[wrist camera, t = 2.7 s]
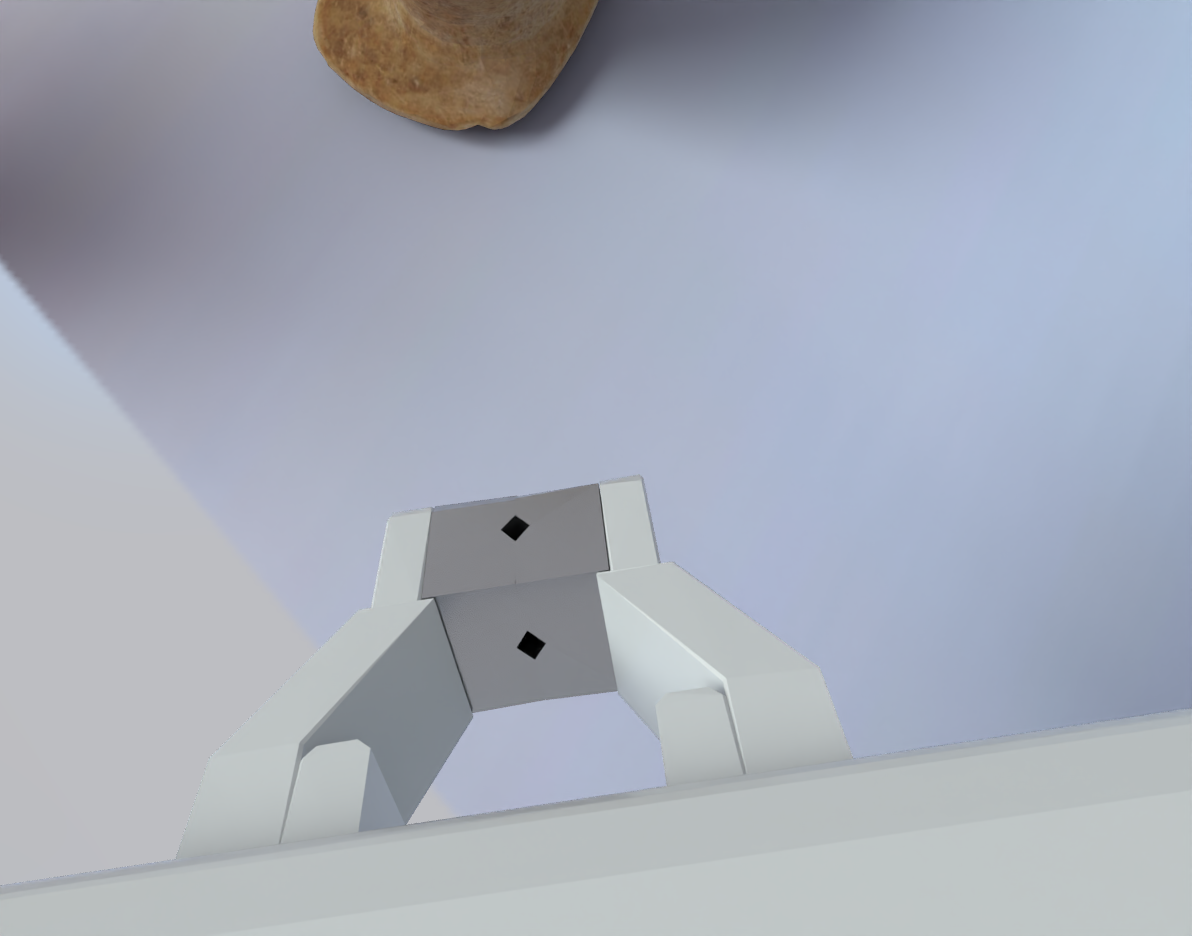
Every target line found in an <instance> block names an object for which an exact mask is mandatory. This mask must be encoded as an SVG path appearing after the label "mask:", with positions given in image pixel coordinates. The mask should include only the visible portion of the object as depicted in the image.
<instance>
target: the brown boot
mask: <svg viewBox="0 0 1192 936" xmlns="http://www.w3.org/2000/svg"><path fill="white" fill-rule="evenodd" d="M598 1H599V0H318V2H317V6H316V10H315V15H314V25H313V36H314V40H315V43H316V46H317V49H318V50H319V51H320V53H321V54H322V56H323V57H324V58H325V60H326V61H327V63H328V66H329V67H330V68H331V69H332V70H334V71H335V72H336V73H337V74H338V75H339V76H340V77H341V78H342V79H343V80H344V81H345V82H346V83H348V84H349V85H350V86H351V87H352V88H353V89H354V90H356V91H357V92H359V93H360V94H362V95H363V96H365V97H366V98H367V99H369V100H370V101H372V102H374V103H375V104H377V105H379V106H380V107H382V108H384V109H386V110H388V111H390V112H393V113H395V114H397V115H400V116H403V117H406V118H408V119H411V120H414V121H417V122H420V123H423V124H426V125H429V126H432V127H436V128H440V129H444V130H463V129H467V128H470V127H473V126H476V125H481V126H483V127H486V128H489V129H493V130H496V129H502V128H505V127H508V126H510V125H511V124H513V123H515V122H516V121H518V120H520V119H521V118H523V117H524V116H525V115H526V114H527V113H528V112H529V111H530V110H531V109H532V108H533V107H534V106H535V105H536V104H537V103H538V101H539V100H540V99H541V98H542V97H543V95H544V94H545V93H546V92H547V90H548V89H549V88H550V87H551V85H552V84H553V82H554V81H555V79H556V78H557V76H558V75H559V73H560V72H561V70H562V69H563V67H564V66H565V64H566V63H567V61H568V60H569V58H570V57H571V55H572V53H573V52H574V50H575V49H576V47H577V45H578V43H579V41H580V39H581V37H582V35H583V33H584V31H585V29H586V27H587V25H588V23H589V21H590V19H591V17H592V15H593V12H594V10H595V8H596V6H597V3H598Z"/></svg>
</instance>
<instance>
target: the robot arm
mask: <svg viewBox="0 0 1192 936" xmlns="http://www.w3.org/2000/svg"><path fill="white" fill-rule="evenodd" d="M600 492H601V494H600ZM614 691H618V694H619V696H620V697H621V698H622V699H623V700H624V701H625V702H626V703H627V704H628V706H629V707H630V708H631V709H632V710H633V711H634V712H635V713H636V715H637V716H638V717H639V718H640V719H641V720H642V721H643V722H644V724H645V725H646V726H647V727H648V728H649V729H650V730H651V731H652V733H653V734H654V735H655V736H656V737H657V738H658V739H659V740H660V742H661V749H662V756H663V763H664V770H665V777H666V784H667V786H664V787H657V788H650V789H643V790H637V791H630V792H623V793H616V794H610V795H603V796H596V797H589V798H583V799H576V800H569V801H563V802H556V803H549V804H543V805H536V806H529V807H523V808H516V809H509V810H502V811H496V812H489V813H482V814H476V815H469V816H462V817H456V818H449V819H442V820H436V821H429V822H423V823H415V824H409V825H406V824H407V822H408V821H409V819H410V818H411V816H412V814H413V813H414V811H415V810H416V808H417V806H418V805H419V803H420V802H421V800H422V798H423V797H424V795H425V794H426V792H427V790H428V789H429V787H430V786H431V784H432V782H433V781H434V779H435V778H436V776H437V774H438V773H439V771H440V770H441V768H442V766H443V765H444V763H445V762H446V760H447V758H448V757H449V755H450V754H451V752H452V750H453V749H454V747H455V746H456V744H457V742H458V741H459V739H460V738H461V736H462V734H463V733H464V731H465V730H466V728H467V726H468V725H469V723H470V722H471V720H472V718H473V714H472V713H475V712H480V711H486V710H492V709H497V708H503V707H508V706H514V705H520V704H525V703H531V702H536V701H542V700H549V699H557V698H565V697H573V696H581V695H589V694H598V693H606V692H614ZM0 936H1192V708H1188V709H1181V710H1174V711H1167V712H1161V713H1154V714H1147V715H1141V716H1134V717H1127V718H1120V719H1114V720H1107V721H1100V722H1094V723H1087V724H1080V725H1073V726H1067V727H1060V728H1053V729H1047V730H1040V731H1033V732H1026V733H1020V734H1013V735H1006V736H1000V737H993V738H987V739H980V740H973V741H967V742H960V743H953V744H947V745H940V746H934V747H927V748H920V749H914V750H907V751H900V752H894V753H887V754H880V755H874V756H867V757H860V758H854V759H853V756H852V754H851V751H850V748H849V746H848V743H847V740H846V738H845V735H844V732H843V729H842V727H841V724H840V721H839V719H838V716H837V713H836V710H835V708H834V705H833V702H832V700H831V697H830V694H829V692H828V689H827V686H826V683H825V681H824V678H823V675H822V673H821V670H820V667H818V666H817V665H815V664H814V663H813V662H811V661H810V660H808V659H807V658H806V657H804V656H803V655H802V654H800V653H799V652H797V651H796V650H795V649H793V648H792V647H790V646H789V645H788V644H786V643H785V642H784V641H782V640H781V639H779V638H778V637H777V636H775V635H774V634H772V633H771V632H770V631H768V630H767V629H766V628H764V627H763V626H761V625H760V624H759V623H757V622H756V621H755V620H753V619H752V618H750V617H749V616H748V615H746V614H745V613H743V612H742V611H741V610H739V609H738V608H737V607H735V606H734V605H732V604H731V603H730V602H728V601H727V600H725V599H724V598H723V597H721V596H720V595H719V594H717V593H716V592H714V591H713V590H712V589H710V588H709V587H707V586H706V585H705V584H703V583H702V582H701V581H699V580H698V579H696V578H695V577H694V576H692V575H691V574H690V573H688V572H687V571H685V570H684V569H683V568H681V567H680V566H678V565H677V564H676V563H674V562H667V563H661V562H660V557H659V552H658V548H657V543H656V538H655V533H654V528H653V523H652V518H651V513H650V508H649V504H648V499H647V494H646V489H645V484H644V479H643V477H642V476H641V475H640V474H638V475H633V476H628V477H622V478H617V479H611V480H606V481H601V482H600V489H599V483H597V484H591V485H585V486H578V487H572V488H566V489H560V490H554V491H547V492H541V493H535V494H529V495H523V496H510V497H503V498H495V499H488V500H480V501H473V502H465V503H458V504H450V505H443V506H435V508H432V507H429V508H422V509H416V510H409V511H403V512H396V513H393V514H392V515H391V516H390V518H389V519H388V521H387V525H386V531H385V536H384V541H383V547H382V552H381V557H380V563H379V568H378V573H377V578H376V584H375V589H374V594H373V600H372V605H371V608H366V609H360V610H358V611H357V612H356V613H355V614H354V615H353V616H352V617H351V618H350V619H349V620H348V621H347V622H346V623H345V624H344V625H343V626H342V627H341V628H340V629H339V630H338V631H337V632H336V633H335V634H334V635H333V636H332V637H331V638H330V639H329V640H328V641H327V642H326V643H325V644H324V645H323V646H322V647H321V648H320V649H319V650H318V651H317V652H316V653H315V654H314V655H313V656H312V657H311V658H310V659H309V660H308V661H307V662H306V663H305V664H304V665H303V666H302V667H301V668H300V669H298V670H297V671H296V673H295V674H293V675H292V676H291V677H290V678H289V679H288V681H286V682H285V683H284V685H282V686H281V688H279V689H278V690H277V691H276V693H274V694H273V695H272V696H271V697H270V698H269V699H268V700H267V702H265V703H264V704H263V705H262V706H261V707H260V708H259V709H258V710H257V711H256V712H255V713H254V714H253V715H252V716H251V717H250V718H249V719H248V720H247V721H246V722H245V723H244V724H243V725H242V726H241V727H240V728H239V729H238V730H237V731H236V732H235V733H234V734H233V735H232V736H231V737H230V738H229V739H228V740H227V741H226V742H225V743H224V744H223V745H222V746H221V747H220V748H219V749H218V750H217V751H216V752H215V753H214V754H213V755H212V756H211V757H210V758H209V760H208V763H207V766H206V769H205V772H204V775H203V778H202V781H201V784H200V787H199V790H198V793H197V796H196V799H195V802H194V805H193V808H192V811H191V814H190V817H189V820H188V823H187V826H186V829H185V832H184V835H183V838H182V841H181V844H180V847H179V850H178V853H177V856H176V859H174V860H168V861H161V862H154V863H148V864H141V865H134V866H127V867H121V868H114V869H108V870H100V871H94V872H87V873H81V874H74V875H67V876H60V877H54V878H47V879H40V880H34V881H27V882H20V883H14V884H7V885H0Z"/></svg>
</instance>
